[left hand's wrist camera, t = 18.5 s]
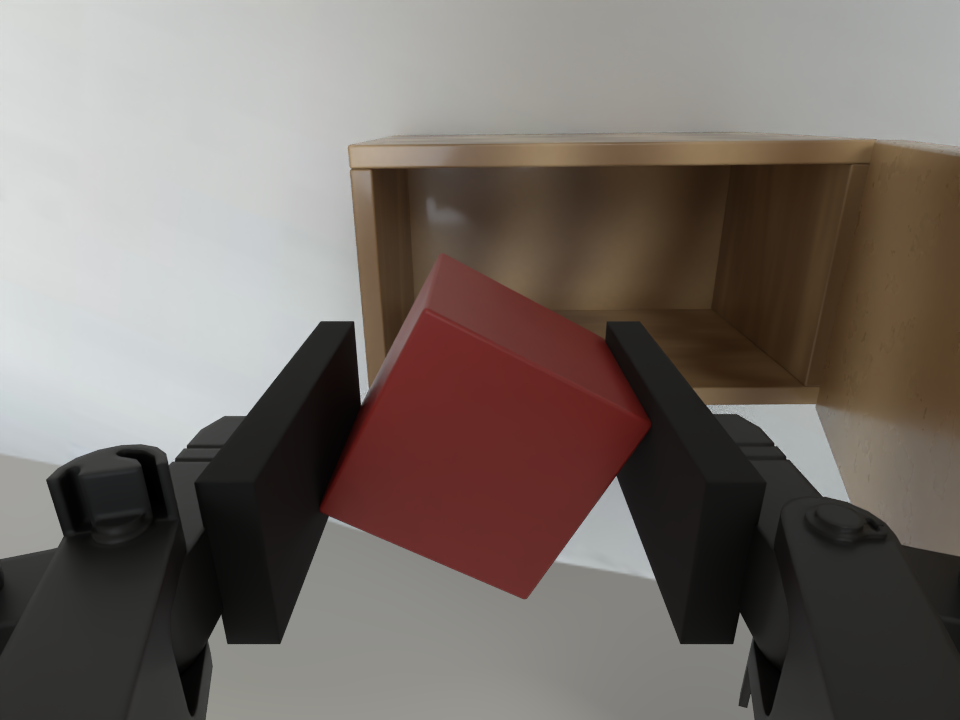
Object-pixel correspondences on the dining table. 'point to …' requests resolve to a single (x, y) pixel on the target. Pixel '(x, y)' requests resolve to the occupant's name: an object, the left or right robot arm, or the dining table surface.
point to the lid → (901, 348)
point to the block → (485, 432)
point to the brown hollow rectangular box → (628, 240)
